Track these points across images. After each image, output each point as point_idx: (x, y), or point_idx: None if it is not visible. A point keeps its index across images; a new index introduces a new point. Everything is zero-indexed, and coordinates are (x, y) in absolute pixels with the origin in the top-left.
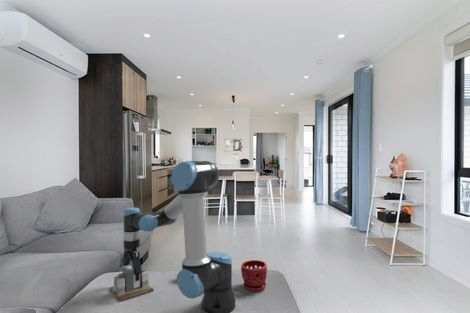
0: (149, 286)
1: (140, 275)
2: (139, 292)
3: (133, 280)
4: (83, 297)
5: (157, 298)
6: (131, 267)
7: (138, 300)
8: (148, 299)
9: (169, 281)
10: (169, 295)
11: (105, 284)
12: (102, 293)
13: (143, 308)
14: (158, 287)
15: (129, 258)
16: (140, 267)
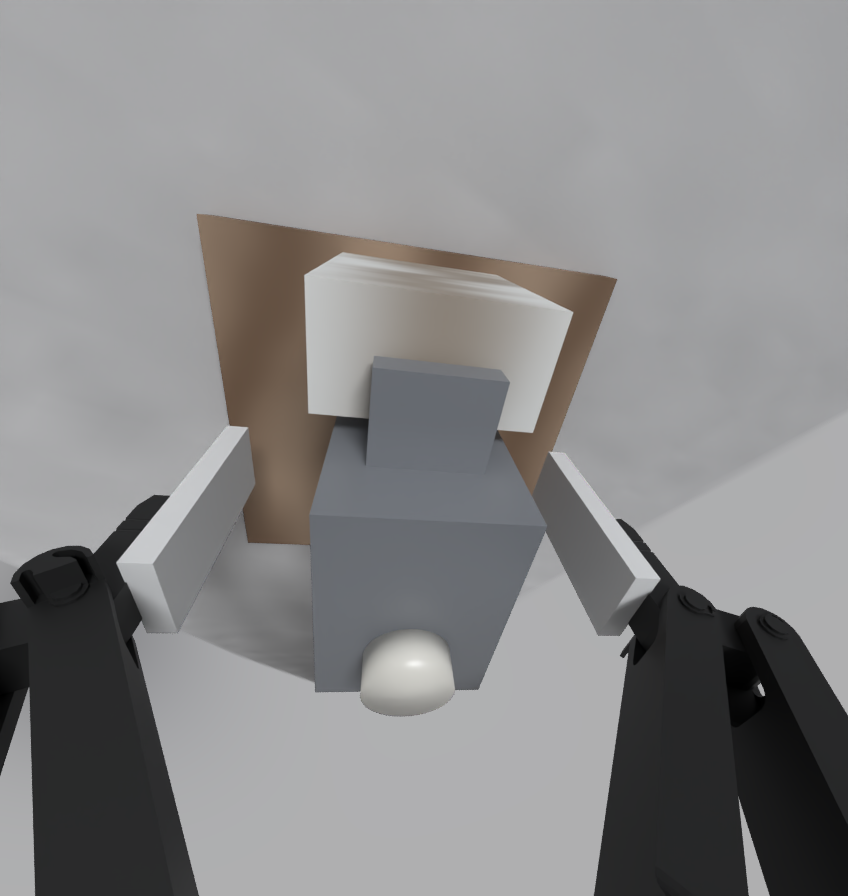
0: (513, 269)
1: (503, 442)
2: (538, 420)
3: (558, 556)
4: (274, 642)
5: (739, 336)
6: (364, 613)
7: (604, 459)
8: (670, 400)
9: None
10: (841, 199)
11: (110, 520)
12: (289, 573)
13: (720, 483)
14: (581, 154)
15: (177, 852)
16: (840, 725)
